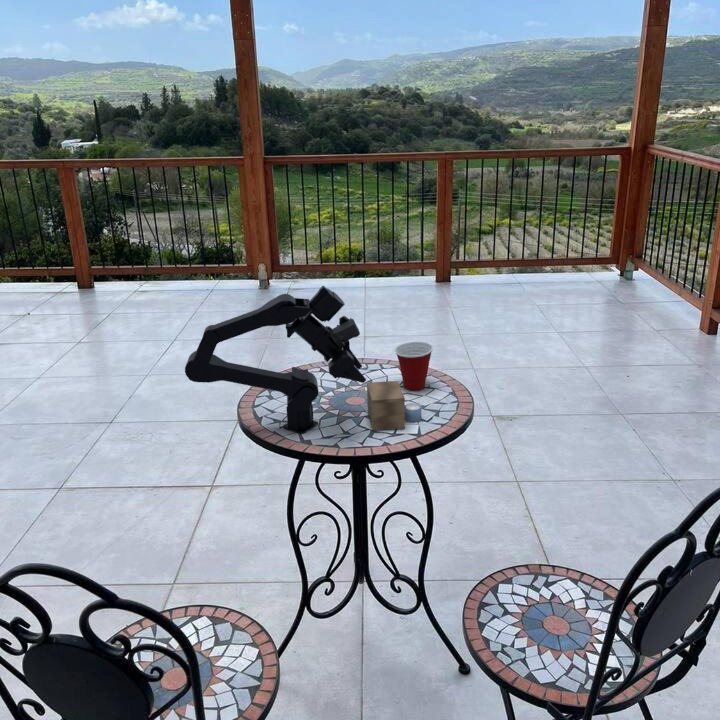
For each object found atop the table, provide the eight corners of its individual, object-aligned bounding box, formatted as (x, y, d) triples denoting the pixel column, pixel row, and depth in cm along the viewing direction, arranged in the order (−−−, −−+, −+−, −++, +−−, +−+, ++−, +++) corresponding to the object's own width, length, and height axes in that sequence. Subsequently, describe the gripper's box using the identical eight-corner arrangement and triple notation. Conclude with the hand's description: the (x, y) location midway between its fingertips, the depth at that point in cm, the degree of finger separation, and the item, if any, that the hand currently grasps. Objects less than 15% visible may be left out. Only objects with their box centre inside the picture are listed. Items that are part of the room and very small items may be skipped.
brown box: (372, 430, 167) (372, 400, 164) (367, 411, 177) (366, 382, 174) (404, 428, 168) (404, 398, 165) (397, 409, 178) (397, 380, 175)
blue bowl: (416, 423, 170) (416, 411, 169) (401, 419, 173) (400, 408, 171) (424, 417, 174) (424, 405, 173) (409, 413, 176) (409, 401, 175)
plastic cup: (388, 383, 195) (387, 344, 191) (422, 377, 198) (422, 338, 194) (404, 397, 185) (404, 356, 181) (439, 390, 189) (440, 350, 185)
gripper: (342, 322, 152) (391, 365, 157) (336, 299, 170) (380, 338, 175) (308, 357, 154) (358, 398, 159) (306, 331, 172) (350, 369, 177)
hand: (362, 374), depth 167 cm, fingers open, 9 cm apart
